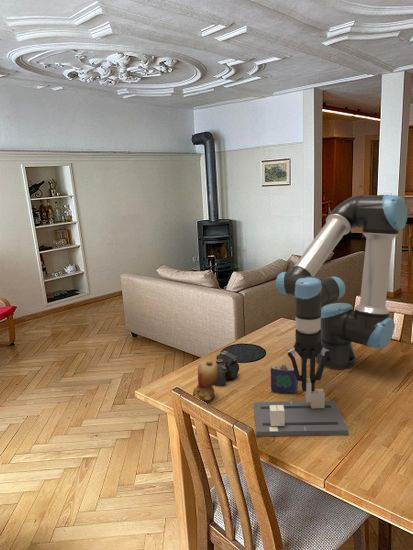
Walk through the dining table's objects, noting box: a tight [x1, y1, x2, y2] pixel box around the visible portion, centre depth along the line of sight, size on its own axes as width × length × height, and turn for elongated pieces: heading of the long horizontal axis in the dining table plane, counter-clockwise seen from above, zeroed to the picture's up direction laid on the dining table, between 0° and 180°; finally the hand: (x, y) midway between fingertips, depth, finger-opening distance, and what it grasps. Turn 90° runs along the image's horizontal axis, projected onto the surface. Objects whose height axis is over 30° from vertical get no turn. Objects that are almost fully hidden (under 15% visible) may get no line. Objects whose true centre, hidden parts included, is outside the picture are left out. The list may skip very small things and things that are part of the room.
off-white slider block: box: [310, 388, 326, 408], centre depth 129 cm, size 4×3×5 cm
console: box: [253, 400, 349, 437], centre depth 125 cm, size 26×16×2 cm, turn 87°
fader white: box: [270, 405, 285, 426], centre depth 121 cm, size 4×3×5 cm
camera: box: [214, 350, 240, 387], centre depth 153 cm, size 13×10×10 cm
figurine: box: [192, 359, 218, 403], centre depth 140 cm, size 10×8×15 cm
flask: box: [270, 362, 299, 395], centre depth 141 cm, size 9×3×11 cm, turn 74°
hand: (308, 399), depth 129 cm, fingers closed
